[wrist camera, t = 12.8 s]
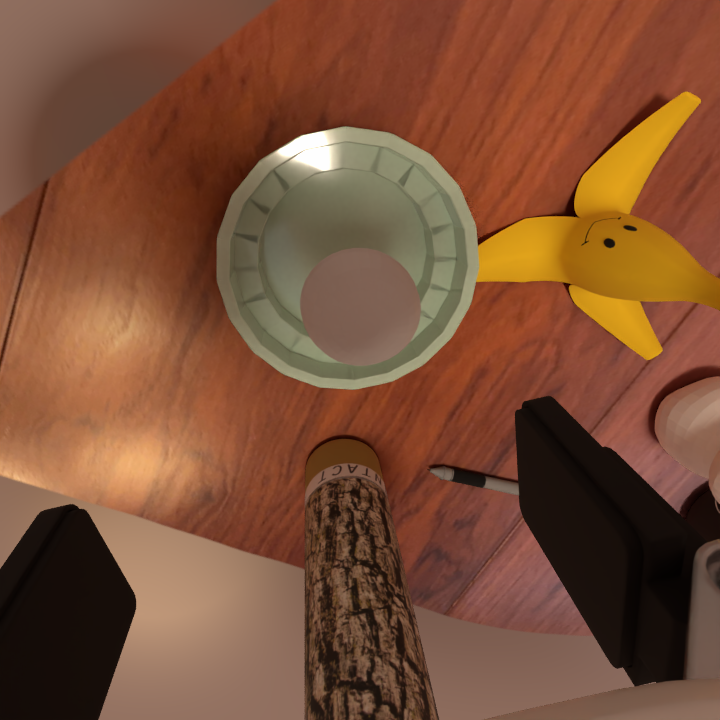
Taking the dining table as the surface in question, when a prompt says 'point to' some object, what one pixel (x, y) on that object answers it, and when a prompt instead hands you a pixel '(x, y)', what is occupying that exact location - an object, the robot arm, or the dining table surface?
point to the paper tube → (357, 596)
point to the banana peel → (609, 241)
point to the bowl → (344, 245)
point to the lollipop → (360, 306)
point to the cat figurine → (693, 429)
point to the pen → (476, 480)
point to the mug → (705, 517)
